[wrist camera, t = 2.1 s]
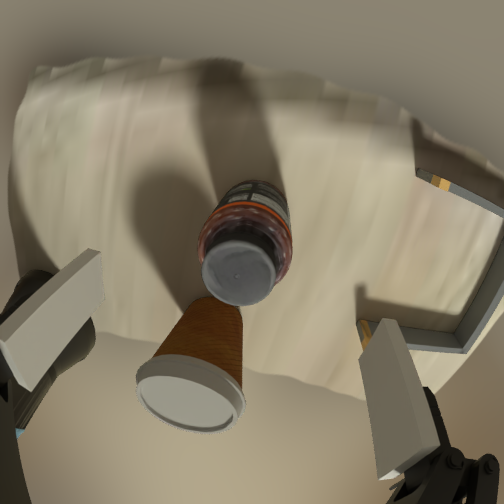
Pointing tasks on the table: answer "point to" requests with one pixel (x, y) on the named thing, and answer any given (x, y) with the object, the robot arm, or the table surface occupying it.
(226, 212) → the supplement bottle
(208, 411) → the disposable coffee cup
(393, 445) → the robot arm
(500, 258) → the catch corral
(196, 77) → the table surface
